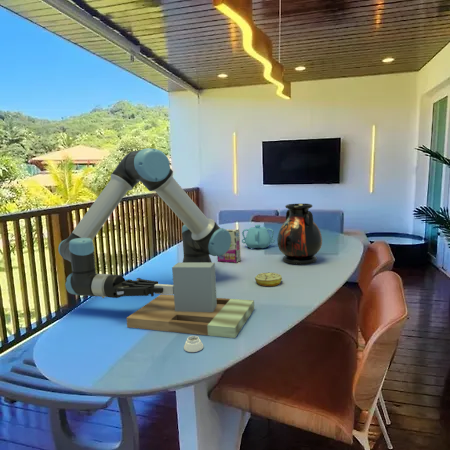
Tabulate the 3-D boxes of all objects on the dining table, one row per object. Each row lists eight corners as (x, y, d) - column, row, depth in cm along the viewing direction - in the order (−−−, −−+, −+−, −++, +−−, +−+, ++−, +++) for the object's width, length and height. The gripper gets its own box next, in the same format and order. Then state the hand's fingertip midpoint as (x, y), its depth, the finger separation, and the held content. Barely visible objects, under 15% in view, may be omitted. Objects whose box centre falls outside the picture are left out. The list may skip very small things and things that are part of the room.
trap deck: (161, 302, 132) (160, 294, 132) (254, 309, 122) (253, 300, 121) (127, 327, 112) (126, 317, 111) (235, 338, 101) (234, 327, 101)
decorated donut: (272, 278, 156) (271, 269, 156) (287, 284, 147) (287, 275, 146) (250, 282, 152) (250, 273, 151) (264, 289, 142) (264, 279, 142)
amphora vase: (269, 260, 187) (267, 205, 183) (303, 254, 197) (302, 201, 193) (295, 269, 168) (294, 207, 164) (331, 262, 178) (331, 204, 174)
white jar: (180, 348, 97) (190, 355, 93) (179, 337, 96) (189, 344, 92) (196, 342, 100) (207, 349, 96) (196, 332, 99) (206, 338, 95)
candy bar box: (241, 261, 188) (239, 229, 186) (236, 263, 184) (235, 230, 182) (221, 259, 193) (220, 228, 191) (217, 261, 189) (215, 230, 187)
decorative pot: (277, 247, 217) (277, 224, 215) (254, 251, 209) (253, 227, 207) (261, 243, 231) (261, 222, 229) (239, 247, 223) (238, 224, 222)
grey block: (180, 304, 120) (178, 262, 119) (216, 305, 118) (214, 262, 116) (175, 311, 115) (172, 267, 113) (212, 312, 112) (210, 267, 110)
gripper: (121, 290, 129) (183, 294, 122) (98, 303, 117) (165, 308, 110) (120, 269, 128) (182, 272, 121) (95, 280, 116) (163, 284, 109)
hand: (173, 289), depth 115 cm, fingers closed
